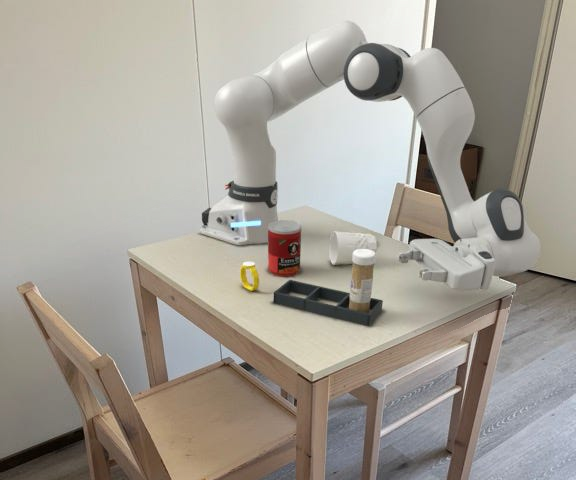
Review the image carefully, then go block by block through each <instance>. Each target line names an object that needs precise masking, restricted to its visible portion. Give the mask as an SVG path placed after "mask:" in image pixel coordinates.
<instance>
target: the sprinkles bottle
mask: <svg viewBox="0 0 576 480" xmlns="http://www.w3.org/2000/svg"><path fill="white" fill-rule="evenodd" d="M376 257H377V253H375V252H374V251H372V250H369V249H357V250H355V251H354V252H353V256H352V261H353V264H352V269H351V278H350V289H349V293H350V301H349V306H348V307H349V309H352V310H356V311H360V312H365V313H369V307H370V300H371V298H372V292H373V291H372V290H373V282H374V270H375V269H374V267H375V263H376Z"/></svg>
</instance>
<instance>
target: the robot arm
mask: <svg viewBox="0 0 576 480" xmlns="http://www.w3.org/2000/svg"><path fill="white" fill-rule="evenodd" d="M341 81H344V83H345V87H346V88H347V90H348V91H349V92H350V93H351V94H352V95H353V96H354V97H356V98H357V99H360V100H362V101H370V102H375V103H376V102H377V103H381V102H382V103H383V102H389V101H390V102H391V101H397V100H398V99H401V98H403V99H405V101H406V102H407V103H408V105H409V106H410V108H411V110H412V113H413V114H414V116H415V118H416V120H417V122H418V125H419V127H420V130H421V132H422V136H423V138H424V142H425V146H426V147H425V148H426V157H427V158H426V159H427V162H428V166H429V169H430V171H431V174H432V177H433V180H434V183H435V186H436V188H437V190H438V194H439V197H440V199H441V202H442V204H443V207H444V210H445V214H446V218H447V227H448V232H449V235H450V238H451V239H452V241H453V243H454V244H453V246H452V245H450V244H449V243H448V242H446V241H444V240H443V239H440V238H417V239H416V238H415V239H412V240H411V241H410V242H409V246H408V250H407V251H405V252H404V251H403V252H399V253H398V255H397V261H398V262H399V263H401V264H407V263H409V261H411V260H412V261H415V262H416V263H417V264H419V265H420V266H421V267H422V268H424V269H421V270H420V271H419V278H420V279H421V280H422V281H423V282H427V281H432V282H438V283H444V284H445V285H446V286H448V287H449V288H450V289H451V290H453V291H457V292H458V291H459V292H466V291H476V290H481V291H485V290H489V289H490V287H491V283H492V279H493V277H496V278H497V277H498V278H500V277H507V276H513V275H517V274H521V273H524V272H526V271H528V270H530V269H532V268H533V267H534V265H536V263H537V262H538V260H539V257H540V255H541V241H540V239H539V238H538V236H537V235H536V234H535V233H534V232H532V231H531V229H530V227H529V225H528V223H527V222H526V219H525V213H524V206H523V203H522V200H521V199H520V197H519V196H518V195H517V194H516V193H515V192H513V191H511V190H510V189H508V188H501V187H500V188H495V189H494V190H492V191H490V192H488V193H486V194H484V195H482V196H481V197H479V198H477V199H476V200H474V199H473V198H472V196H471V193H470V191H469V187H468V185H467V182H466V180H465V177H464V174H463V170H462V168H461V167H462V166H461V157H462V153H463V149H464V147H465V145H466V142H467V141H468V138H469V137H470V135H471V133H472V131H473V128H474V126H475V125H474V124H475V119H476V112H475V109H474V105H473V102H472V99H471V97H470V95H469V92H468V90H467V88H466V87H465V85H464V83H463V81H462V79H461V77H460V75H459V74H458V71H457V70H456V69H455V68H454V65H453V64H452V63H451V61H450V60H449V59H448V57H447V56H446V55H445V54H444V52H443V51H441V50H440V49H438V48H436V47H429V48H424V49H421V50H419V51H417V52H416V53H414V54H412V55H410V54H409V52H407V51H406V50H405V49H402V48H400V47H397V46H395V45H392V44H389V43H378V42H377V43H376V42H368V40H367V38H366V35H365V33H364V31H363V30H362V28H361V27H360V26H359V25H358V24H357V23H355V22H354V21H351V20H343V21H341V22H338V23H335V24H332V25H330V26H327V27H325V28H324V29H321V30H319V31H317V32H315V33H313V34H312V35H310V36H308V37H307V38H306V39H304V40H302V41H301V42H298V43H297V44H296V45H293V47H291V48H289V49H288V50H286V51H284V52H283V53H281V54H280V55H279V56H278V58H276V59H275V60H274V61H273V62H272V63H270V64H269V65H268V66H266V67H265V68H264V69H262V70H260V71H259V72H256V73H254V74H253V73H252V74H251V75H247V76H243V77H238V78H233V79H231V80H230V81H229V82H226V83H225V84H224V85H223V86H222V87H221V88H220V89H219V90H218V91H217V93H216V94H215V97H214V104H213V105H214V112H215V115H216V117H217V119H218V121H219V122H220V123H221V124H222V126H223V127H224V128H225V131H226V133H227V136H228V140H229V143H230V148H231V154H232V173H233V174H232V175H233V176H232V177H233V180H232V181H229V182H228V183H227V184H224V187H225V188H224V190H228V193H227V195H226V196H224V197H223V198H222V199H221V200H219V201H217V202H216V203H215V204H214V205H212V207H207V208H206V209H204V211H202V212H201V223H202V224H203V225H201V227H200V229H199V233H200V234H202V235H204V236H208V237H211V238H213V239H217V240H221V241H224V242H227V243H230V244H233V245H235V246H245V245H252V244H264V243H268V225H269V224H270V223H271V222H274V221H279V216H278V215H279V214H278V207H277V205H278V199H279V198H278V197H279V195H278V190H279V189H278V181H277V151H276V149H275V147H274V145H272V143H271V140H270V135H269V131H268V123H270V122H272V121H274V120H276V119H278V118H280V117H281V116H283V115H285V114H286V113H288V112H289V111H291V110H293V109H294V108H296V107H298V106H299V105H301V104H302V103H304V102H305V101H307V100H309V99H310V98H312V97H314V96H317V95H318V94H320V93H321V92H324V91H325V90H327V89H329V88H331V87H333V86H334V85H336V84H338V83H339V82H341Z"/></svg>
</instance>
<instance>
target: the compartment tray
mask: <svg viewBox="0 0 576 480" xmlns="http://www.w3.org/2000/svg"><path fill="white" fill-rule="evenodd" d="M290 292H292V293H297V294H302V295H306V297H300V296H296V295H291V294H289V293H290ZM319 299H322V300H328V301H331V302H335V303H337V304H336V305H334V304H329V303H326V302H321V301H318V300H319ZM349 301H350V292H347V291H342V290H337V289H334V288H329V287H325V286H320V285H316V284H311V283H308V282H307V283H306V282H303V281H298V280H293V279H289V280H287V281H286V282H285V283H284V284H283V285H281V286H280V287H278V288H277V289H276V290H275V291H274V292H273V304H277V305H281V306H285V307H288V308H291V309H298V310H301V311H305V312H308V313H314V314H317V315H322V316H325V317H329V318H333V319H339V320H342V321H346V322H351V323H355V324H358V325H362V326H368V327H370V325H371V324H372V323H373V322H374V320H375V319H377V317H378V316H379V314H381V312H382V311H383V303H384V300H383V299H378V298H375V297H371V300H370V307H369V313H365V312H360V311H356V310H352V309H349Z"/></svg>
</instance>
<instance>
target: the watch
mask: <svg viewBox="0 0 576 480" xmlns="http://www.w3.org/2000/svg"><path fill="white" fill-rule="evenodd" d="M247 270H249V271H250V273H251V276H252V282H253V285H250V282H249V281H248V278H247ZM239 277H240V281H241V284H242V286H243V288H245V289H247V290H248V291H250V292H253V291H257V289H258V288H259V287H260V276H259V272H258V270H257V268H256V263H255V262H254V261H244V262H243V263H242V265H241V266H240V270H239Z"/></svg>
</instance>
